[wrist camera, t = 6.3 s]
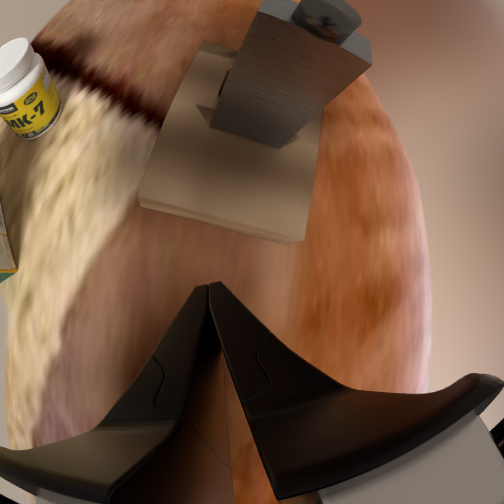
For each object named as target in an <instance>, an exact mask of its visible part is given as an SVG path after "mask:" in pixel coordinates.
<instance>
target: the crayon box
mask: <svg viewBox="0 0 504 504" xmlns="http://www.w3.org/2000/svg"><path fill="white" fill-rule="evenodd" d="M16 272H17V267H16V264H15V262H14V259H13V255H12V252H11V248H10V244H9V240H8V237H7V232H6V228H5V223H4V218H3V213H2V208H1V203H0V283H1V282H2V281H4V280H5V279H7V278H8V277H10V276H11V275H13V274H14V273H16Z"/></svg>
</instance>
